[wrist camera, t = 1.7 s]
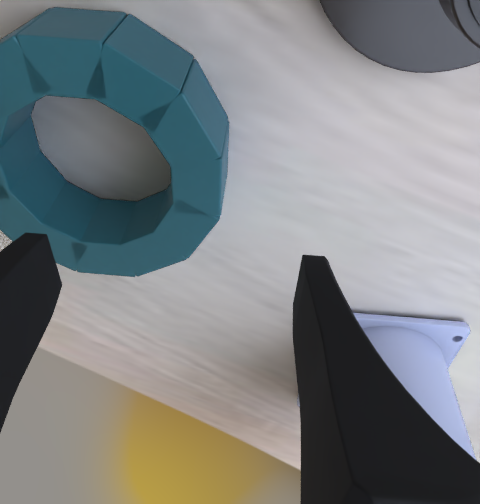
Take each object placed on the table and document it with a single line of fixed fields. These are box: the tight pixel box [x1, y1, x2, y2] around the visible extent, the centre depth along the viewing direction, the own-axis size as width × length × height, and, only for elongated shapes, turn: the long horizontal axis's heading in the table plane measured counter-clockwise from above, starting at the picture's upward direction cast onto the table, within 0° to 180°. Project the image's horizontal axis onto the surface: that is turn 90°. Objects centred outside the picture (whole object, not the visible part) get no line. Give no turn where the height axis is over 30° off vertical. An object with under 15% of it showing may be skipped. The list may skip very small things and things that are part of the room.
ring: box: [0, 7, 229, 277], centre depth 17 cm, size 10×10×3 cm
